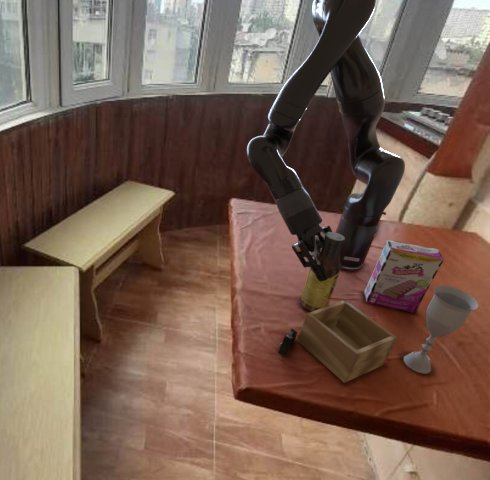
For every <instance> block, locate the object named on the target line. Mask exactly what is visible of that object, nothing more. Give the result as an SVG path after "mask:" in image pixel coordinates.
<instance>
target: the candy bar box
mask: <svg viewBox="0 0 490 480" xmlns="http://www.w3.org/2000/svg"><path fill="white" fill-rule="evenodd" d="M444 261H445V258H444V257H443V254H442V253H441V252H440V250H439V249H437V248H433V247H428V246H422V245H418V244H417V245H416V244H411V243H407V242H401V241H397V240H396V241H395V240H391V239H387V240H386V242H385V243H384V246H383V248H382V251H381V252H380V255H379V257H378V260H377V262H376V263H375V266H374V268H373V271H372V273H371V275H370V277H369V279H368V281H367V284H366V287H365V289H364V290H363V291H364V292H363V294H364V299H365V302H366V303H367V304H371V305H374V306H375V305H376V306H380V307H385V308H389V309H394V310H399V311H403V312H407V313H412V314H415V313H416V312H417V311H418V308H419V306H420V304H421V303H422V301H423V299H424V297H425V295H426V293H427V292H428V291H429V288H430V287H431V284H432V283H433V281H434V279H435V277H436V276H437V274H438V272H439V270H440V268H441V265H442V264H443V262H444Z"/></svg>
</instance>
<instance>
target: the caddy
mask: <svg viewBox="0 0 490 480" xmlns="http://www.w3.org/2000/svg"><path fill="white" fill-rule="evenodd" d="M397 339H398V337H397V336H396V335H395V334H393V333H392V332H391V331H389V330H388V329H386V328H385V327H384V326H382V325H381V324H379V323H378V322H377V321H375V320H374V319H372V318H371V317H369V316H368V315H367V314H365V313H364V312H363V311H361V310H359V309H358V308H356V307H355V305H352V304H351V303H350V302H348V301H347V300H341V301H338V302H335V303H333V304H330V305H329V304H328V306H327V307H324V308H321V309H318V310H315V311H312V312H311V311H309V312H307V313H305V317H304V320H303V323H302V326H301V329H300V331H299V335H298V336H297V342H298V343H299V344H300V345H302V347H303V348H305V349H306V350H307V351H308V352H309V353H310V354H311V355H312V356H313V357H314V358H316V359H317V360H318V361H319V362H320V363H322V365H323V366H325V367H326V368H327V369H328V370H329V371H330V372H332V374H334V376H335V377H337V378H338V379H339V380H340V381H341V382H342V383H343V384H344V383H348V382H350V381H352V380H354V379H356V378H358V377H361V376H362V375H365V374H368V373H369V372H372V371H373V370H376V369H377V368H380V367H382V366H384V364H385V362H386V360H387V358H388V356H389V354H390V352H391V350H392V349H393V346H394V345H395V343H396V341H397Z"/></svg>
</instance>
